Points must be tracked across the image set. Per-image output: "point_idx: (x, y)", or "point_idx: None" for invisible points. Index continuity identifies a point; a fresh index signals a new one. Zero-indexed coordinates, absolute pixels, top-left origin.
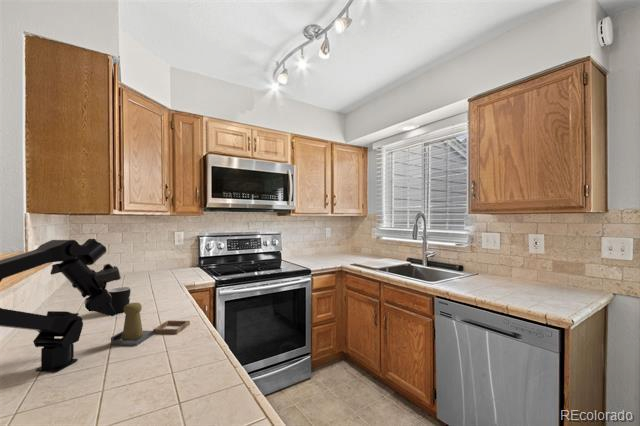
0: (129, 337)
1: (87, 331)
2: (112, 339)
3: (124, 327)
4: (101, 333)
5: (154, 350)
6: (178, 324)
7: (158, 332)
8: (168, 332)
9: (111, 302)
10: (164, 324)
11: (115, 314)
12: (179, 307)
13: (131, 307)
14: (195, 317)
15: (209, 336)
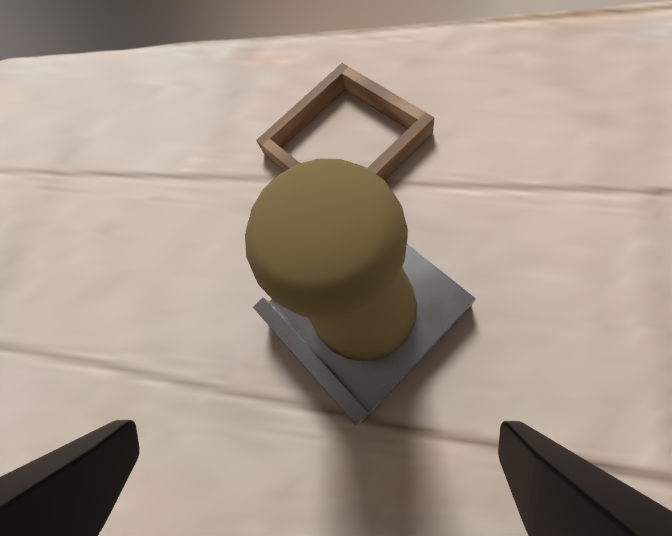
0: (412, 327)
1: None
2: (365, 415)
3: (367, 340)
4: None
5: (608, 240)
6: (314, 114)
7: None
8: (402, 158)
9: (126, 428)
10: (293, 159)
11: (516, 426)
12: (82, 95)
13: (394, 241)
14: (267, 54)
15: (566, 28)
